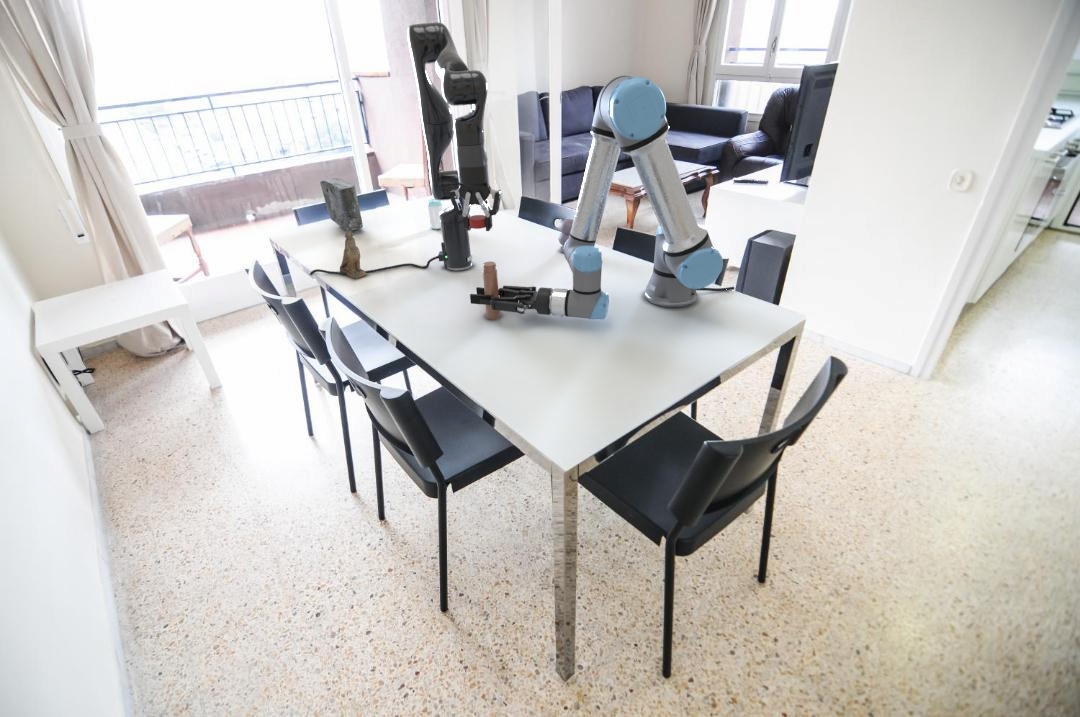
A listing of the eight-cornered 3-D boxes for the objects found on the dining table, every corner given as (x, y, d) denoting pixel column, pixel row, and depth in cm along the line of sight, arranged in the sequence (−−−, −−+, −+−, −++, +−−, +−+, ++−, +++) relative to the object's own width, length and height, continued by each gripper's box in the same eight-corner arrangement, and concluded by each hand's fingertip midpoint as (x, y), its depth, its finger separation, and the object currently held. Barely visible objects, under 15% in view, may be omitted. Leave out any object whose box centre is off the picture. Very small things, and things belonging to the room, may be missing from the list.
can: (445, 229, 220) (441, 202, 214) (429, 230, 220) (425, 202, 214) (447, 224, 226) (444, 198, 220) (432, 225, 226) (428, 198, 220)
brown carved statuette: (368, 281, 178) (362, 235, 166) (353, 285, 175) (347, 238, 163) (352, 266, 184) (346, 221, 172) (338, 270, 181) (331, 224, 169)
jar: (502, 314, 146) (499, 262, 138) (495, 320, 143) (491, 267, 135) (491, 312, 148) (487, 260, 139) (483, 317, 145) (479, 264, 136)
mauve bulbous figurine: (584, 250, 191) (584, 219, 185) (571, 255, 186) (571, 223, 180) (567, 245, 196) (567, 215, 190) (554, 251, 191) (553, 220, 185)
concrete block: (368, 232, 220) (358, 186, 209) (348, 237, 216) (336, 189, 205) (349, 220, 239) (338, 176, 228) (330, 223, 234) (319, 179, 224)
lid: (465, 227, 132) (464, 218, 131) (476, 222, 135) (475, 214, 134) (480, 229, 130) (479, 221, 128) (490, 224, 133) (490, 216, 132)
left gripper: (439, 166, 122) (448, 234, 131) (496, 166, 120) (501, 235, 129) (449, 160, 128) (457, 225, 137) (503, 159, 126) (507, 226, 135)
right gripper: (544, 328, 133) (463, 320, 139) (559, 301, 147) (485, 295, 153) (543, 302, 129) (460, 295, 135) (559, 277, 143) (483, 272, 149)
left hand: (478, 229), depth 133 cm, fingers closed on lid, 4 cm apart
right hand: (474, 295), depth 144 cm, fingers closed on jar, 4 cm apart
